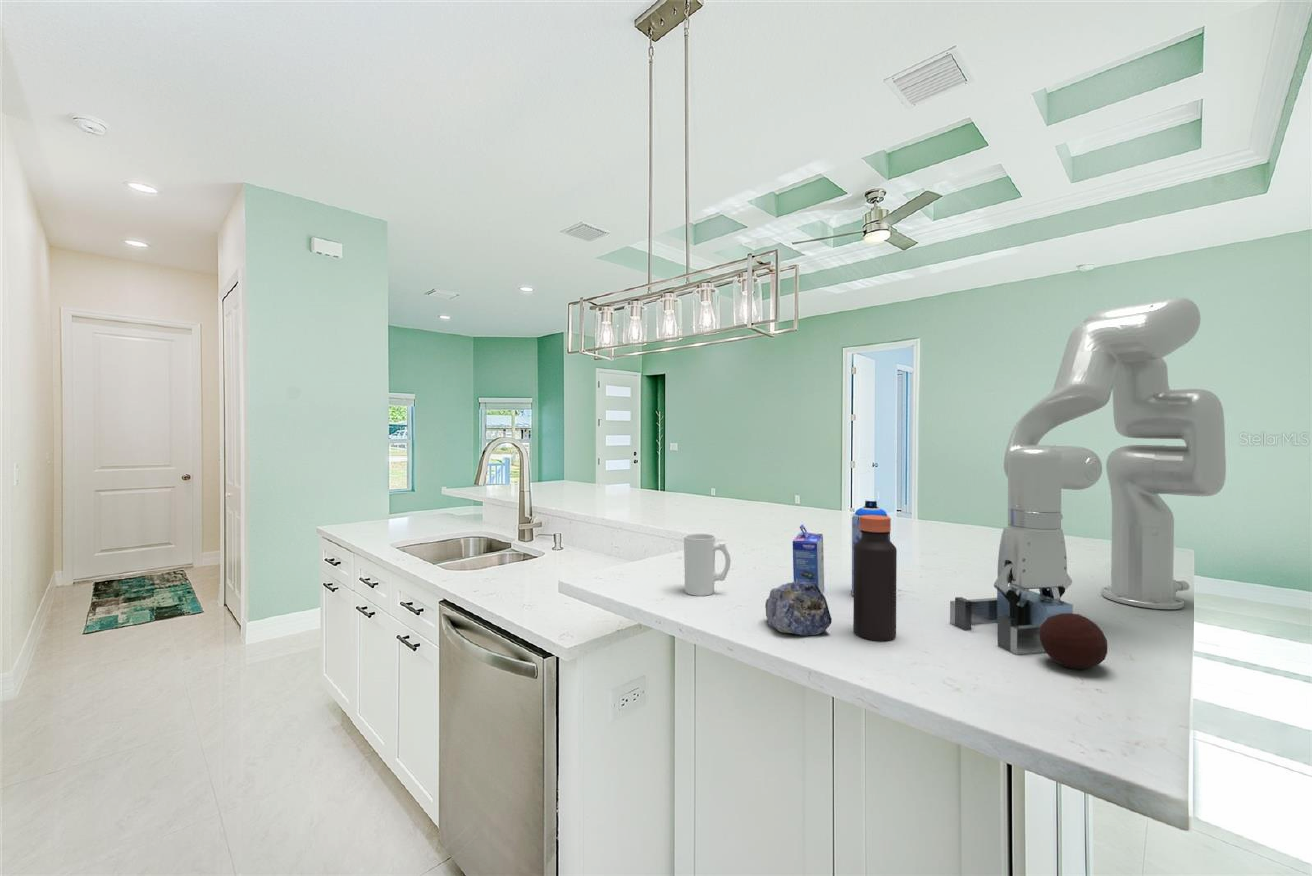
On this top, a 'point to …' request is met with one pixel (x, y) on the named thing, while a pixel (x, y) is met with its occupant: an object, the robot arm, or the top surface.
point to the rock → (798, 609)
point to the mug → (702, 563)
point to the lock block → (1035, 607)
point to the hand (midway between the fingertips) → (1033, 625)
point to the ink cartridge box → (808, 558)
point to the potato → (1073, 641)
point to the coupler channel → (1008, 632)
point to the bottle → (875, 580)
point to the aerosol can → (868, 509)
